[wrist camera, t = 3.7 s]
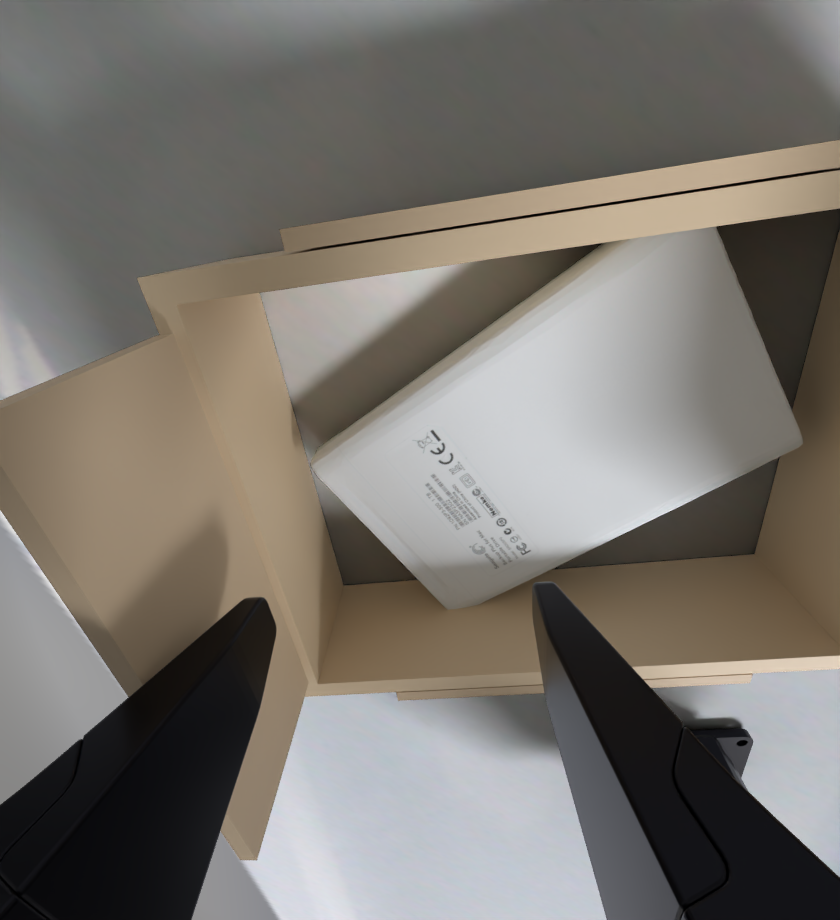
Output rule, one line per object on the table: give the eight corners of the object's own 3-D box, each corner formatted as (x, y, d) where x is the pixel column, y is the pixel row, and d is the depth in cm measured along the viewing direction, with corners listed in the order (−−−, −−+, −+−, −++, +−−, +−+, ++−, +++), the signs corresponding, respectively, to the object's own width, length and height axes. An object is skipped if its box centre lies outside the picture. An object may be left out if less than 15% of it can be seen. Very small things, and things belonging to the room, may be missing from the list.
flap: (308, 682, 14) (296, 683, 14) (173, 333, 9) (155, 335, 9) (256, 860, 10) (240, 860, 10) (-29, 421, 5) (-59, 425, 5)
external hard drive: (773, 426, 15) (455, 591, 18) (669, 190, 12) (317, 445, 16) (809, 449, 13) (456, 623, 17) (701, 187, 10) (305, 468, 14)
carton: (765, 573, 18) (859, 677, 14) (335, 605, 19) (308, 705, 15) (889, 136, 11) (1137, 92, 7) (223, 241, 13) (126, 253, 9)
